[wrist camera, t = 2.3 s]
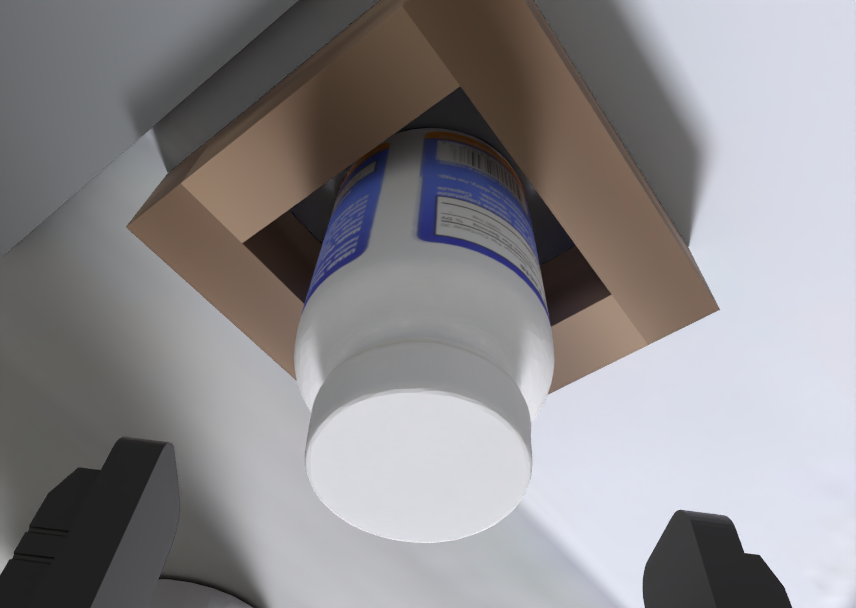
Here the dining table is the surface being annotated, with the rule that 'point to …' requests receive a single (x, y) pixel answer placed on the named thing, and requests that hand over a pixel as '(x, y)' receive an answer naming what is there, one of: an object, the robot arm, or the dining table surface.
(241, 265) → the walnut socket
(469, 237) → the pill bottle
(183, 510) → the dining table surface
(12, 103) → the slate mat
